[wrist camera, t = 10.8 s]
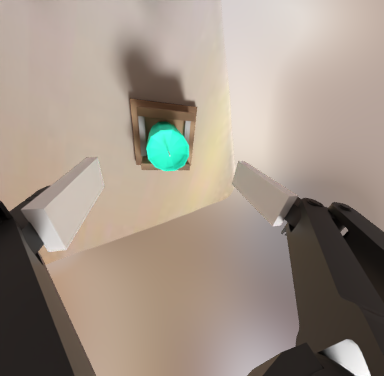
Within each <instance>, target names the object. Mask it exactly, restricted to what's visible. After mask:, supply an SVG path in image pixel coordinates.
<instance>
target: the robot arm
mask: <svg viewBox="0 0 384 376" xmlns="http://www.w3.org/2000/svg"><path fill="white" fill-rule="evenodd" d="M232 185H233V186H234V187H235V188H236V189H237V190H238V191H239V192H240V193H241V194H242V195H243V196H244V197H245V198H246V199H247V200H248V201H249V202H250V203H251V204H252V205H253V206H254V207H255V209H256V210H257V211H258V212H259V213H260V214H261V215H262V216H263V217H264V218H265V219H266V220H267V221H268V222H269V223H270V224H271V225H272V226H279V225H281V224H282V222H283V221H284V219H285V220H286V221H287V224H286V226H285V228H284V229H283V230H282V232H281V234H283V233H284V232H286V234H285V235H286V236H287V240H288V247H289V254H290V261H291V268H292V275H293V282H294V289H295V296H296V303H297V310H298V316H299V332H298V335H297V338H296V347H294V348H291V349H289V350H286V351H284V352H281V353H280V354H278V355H276V356H275V357H273V358H271V359H270V360H268V361H266V362H265V363H263V364H261V365H259V366H258V367H256V368H254V369H253V370H252V371H251V372H250V373H249V374H248V375H247V376H384V232H383V231H382V230H380V229H379V228H378V227H376V226H375V225H374V224H373V223H371V222H370V221H369V220H367V219H366V218H365V217H364V216H362V215H361V214H360V213H358V212H357V211H356V210H354V209H353V208H351V207H349V206H348V205H346V204H343V203H337V202H334V203H332V204H331V206H330V207H329V208H327V207H324V206H323V205H322V204H321V203H319V202H317V201H316V200H313V199H309V198H303V199H300V198H299V197H298V195H296V194H295V193H293V192H291V191H290V190H288V189H287V188H285V187H284V186H282V185H281V184H279V183H277V182H276V181H274V180H273V179H271V178H270V177H268V176H267V175H265V174H263V173H262V172H260V171H259V170H257V169H256V168H254V167H253V166H251V165H249V164H248V163H246V162H243V161H238V164H237V168H236V171H235V175H234V178H233V182H232ZM104 187H105V185H104V181H103V177H102V173H101V169H100V165H99V161H98V157H86V158H85V159H84V160H83V161H81V162H80V163H79V164H78V165H76V166H75V167H74V168H72V169H71V170H70V171H69V172H67V173H66V174H65V175H64V176H62V177H61V178H60V179H59V180H57V181H56V182H55V183H54V184H52V185H51V186H47V187H44V188H42V189H40V190H38V191H37V192H35V193H34V194H33V195H31V197H29V198H27V199H26V200H25V201H23V202H22V203H21V204H19V205H18V206H16V207H15V208H14V209H12V210H11V211H10V212H9V211H8V210H7V208H6V207H5V206H4V204H3V203H2V202H1V201H0V376H96V374H95V372H94V370H93V368H92V366H91V363H90V361H89V359H88V357H87V355H86V353H85V350H84V348H83V346H82V344H81V342H80V339H79V337H78V335H77V333H76V331H75V329H74V327H73V324H72V322H71V320H70V318H69V316H68V313H67V311H66V309H65V307H64V305H63V303H62V300H61V298H60V296H59V294H58V292H57V290H56V287H55V285H54V283H53V281H52V279H51V277H50V274H49V273H48V271H47V268H46V266H45V263H44V261H43V259H42V257H41V255H40V254H39V252H38V251H39V250H40V248H41V247H42V246H43V244H44V246H45V247H46V249H47V250H48V252H52V251H61V250H67V248H68V247H69V245H70V243H71V242H72V240H73V238H74V237H75V235H76V233H77V232H78V230H79V228H80V227H81V225H82V223H83V222H84V220H85V218H86V217H87V215H88V213H89V212H90V210H91V208H92V207H93V205H94V203H95V202H96V200H97V198H98V197H99V195H100V193H101V192H102V190H103V188H104ZM345 227H346V228H347V229H348V232H347V233H346V234H345V235H344V236H342V234H341V233H340V232H341V231H342V230H343V229H344V228H345Z"/></svg>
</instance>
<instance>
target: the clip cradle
mask: <svg viewBox="0 0 384 376" xmlns="http://www.w3.org/2000/svg"><path fill="white" fill-rule="evenodd" d="M130 105H131V115H132V125H133V135H134V145H135V155H136V165H141V168H142V170H161V169H158V168H155V167H154V165H153V164H152V163H151V162H150V161H149V159H148V155H147V150H146V147H147V142H148V136H149V133H150V130H151V128H152V126H153V125H155V124H156V123H157V122H165V121H167V122H169V123H170V124H172V125H174V126H175V127H176V128H177V129H178V131H179V132H180V133H181V134H182V135H183V136H184V138H185V140H186V141H187V143H188V145H189V157H188V159H187V161H186V163H185V165H184V166H183V167H181V168H179V169H177V170H190V166H191V159H192V150H193V141H194V131H195V122H196V113H197V107H192V106H185V105H177V104H169V103H161V102H154V101H146V100H138V99H130Z"/></svg>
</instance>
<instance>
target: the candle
mask: <svg viewBox="0 0 384 376" xmlns="http://www.w3.org/2000/svg"><path fill="white" fill-rule="evenodd" d="M146 150H147V155H148V159H149V161H150V162H151V163H152V164H153V165H154V167H155V168H158V169H161V170H163V171H176V170H177V169H179V168H181V167H183V166H184V165H185V163H186V161H187V159H188V157H189V145H188V143H187V141H186V140H185V138H184V136H183V135H182V134H181V133H180V132H179V131H178V129H177V128H176V127H175V126H174V125H172V124H170V123H169V122H167V121H165V122H157V123H156V124H155V125H153V126H152V128H151V130H150V133H149V136H148V142H147V147H146Z"/></svg>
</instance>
